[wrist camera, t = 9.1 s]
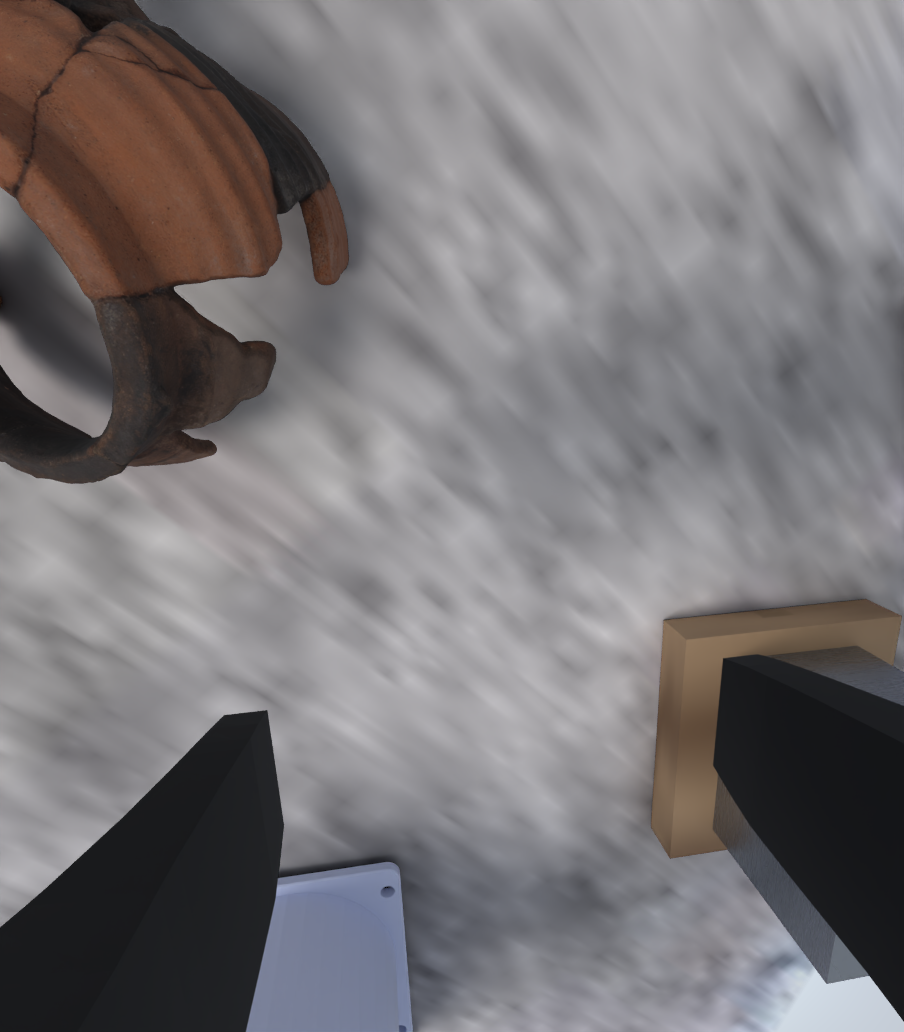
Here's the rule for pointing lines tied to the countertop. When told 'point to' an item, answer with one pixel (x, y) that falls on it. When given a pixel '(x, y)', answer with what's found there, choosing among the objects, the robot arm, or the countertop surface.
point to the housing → (755, 856)
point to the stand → (696, 688)
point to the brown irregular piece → (147, 220)
